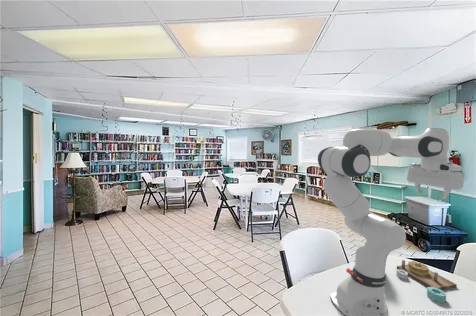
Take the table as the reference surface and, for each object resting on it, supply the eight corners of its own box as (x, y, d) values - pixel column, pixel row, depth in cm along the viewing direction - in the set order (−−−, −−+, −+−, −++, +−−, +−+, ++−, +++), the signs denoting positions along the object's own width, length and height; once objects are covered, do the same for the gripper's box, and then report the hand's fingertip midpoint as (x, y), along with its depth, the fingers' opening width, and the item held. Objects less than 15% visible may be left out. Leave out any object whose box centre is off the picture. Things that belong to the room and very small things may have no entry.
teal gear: (438, 303, 95) (438, 296, 95) (423, 294, 101) (424, 287, 101) (448, 301, 96) (449, 294, 96) (433, 292, 102) (434, 286, 102)
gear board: (434, 291, 103) (435, 280, 103) (396, 268, 121) (397, 259, 121) (456, 287, 106) (457, 276, 106) (416, 265, 125) (417, 256, 124)
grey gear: (404, 280, 111) (405, 275, 111) (394, 275, 115) (395, 270, 115) (409, 277, 113) (409, 273, 113) (399, 273, 117) (399, 268, 117)
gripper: (404, 162, 107) (402, 190, 108) (457, 167, 87) (454, 201, 88) (414, 162, 109) (412, 190, 110) (467, 167, 89) (464, 200, 90)
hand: (431, 195), depth 99 cm, fingers open, 8 cm apart
